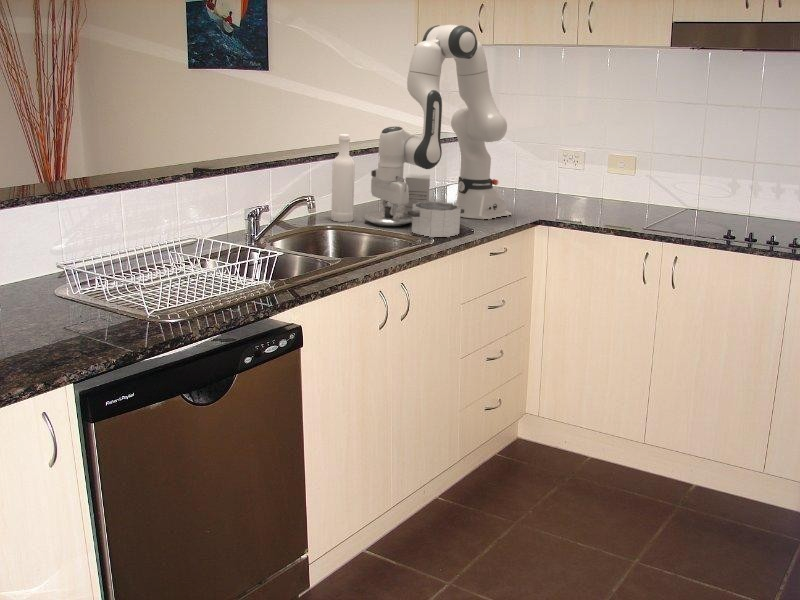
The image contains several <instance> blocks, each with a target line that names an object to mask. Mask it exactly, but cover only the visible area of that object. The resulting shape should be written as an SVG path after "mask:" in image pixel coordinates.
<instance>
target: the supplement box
mask: <svg viewBox="0 0 800 600" xmlns="http://www.w3.org/2000/svg"><path fill="white" fill-rule="evenodd" d="M430 178H431V176H430V175H429V174H418V173H417V174H414V173H406V174H405V178H404V179H405V181H406V183H407V185H408V191H409V203H408V204H407V205H404V206H403V214H407V215H408V211H412V209H413V204H415V203H418V202H430V186H431V185H430V183H431V182H430V181H431V180H430Z"/></svg>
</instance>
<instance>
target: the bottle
mask: <svg viewBox="0 0 800 600" xmlns="http://www.w3.org/2000/svg"><path fill="white" fill-rule="evenodd" d="M350 140H351V136H350V134H349V133H348V134H347V133H340V134H339V137H338V155H337V156H336V157H335V158H334V160H333V163H332V178H331V179H332V180H331V211H330V216H331V217H330V219H331V221H332V220H333V222H335V221H338V222H337V223H350V222H353V220H354V202H355V201H354V200H355V199H354V198H355V197H354V196H355V194H354V193H355V173H356V171H355V169H356V167H355V165H356V164H355V161H354V159H353V157H352V156H351V155H350Z"/></svg>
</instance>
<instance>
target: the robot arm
mask: <svg viewBox="0 0 800 600" xmlns="http://www.w3.org/2000/svg"><path fill="white" fill-rule="evenodd" d="M445 59H454V62H455V68H456V77H457V86H458V94H459V96H460V98H461V99H462V101H463V102H464V103H465V105H466V106H467V108H460V109H458V110H456V111H455V112H454V113H453V114H452V115H451V121H450V126H451V129H452V131H453V132H454V133H455V135H456V138H457V141H458V145H459V151H460V169H459V176H458V183H457V191H458V192H457V199H456V203H455V205H458V206H460V208H461V209H464V213H460V218H465V219H477V220H478V219H479V220H484V219H488V220H493V219H492V218H495V219H497V218H496V217H501V216H506V215H511V216H512V212H511V211H508V210H506V209H507V205H506V204H507V203H506V200H505V198H504V197H503V196H502V195H501V194H500V193H498V191H497V190H496V189H494V188H493V187H494V186H498V184H499V180H498V179H495V178H493V179H492V178H491V165H492V164H491V163H492V157H491V155H490V153H489V152H488V150H487V147H486V144H485V143H493V142H499V141H500V140H503V138H504V137H505V135H506V133H507V132H508V123H507V120H506V118H505V117H504V116H503V115H502V113H500V111H499V109H498V107H497V104H496V102H495V100H494V98H493V95H492V90H491V87H490V86H491V85H490V77H489V71H488V64H487V63H488V62H487V58H486V54H485V50H484V48H483V44H482V43H481V42H480V41H478V39H477V36H476V34H475V32H474V30H473V29H471V28H470V27H468V26H466V25H459V24H444V25H439V24H437V25H434V26H431V27H429V28H428V29H427V30H426V31H425V33H424V34H423V38H422V40H421V41H420V42H418V43H417V44H416V46H415V47H414V49H413V53H412V55H411V59H410V61H409V62H410V63H409V68H408V72H407V73H408V74H407V81H406V86H407V87H406V88H407V91H408V93H409V95H410V96H411V98H413V99H414V100H415V101H416V102H417V103H419V105H420V106H421V109H422V111H423V128H422V135H421V136H422V137H419V136H415V135H413V134H410V133H408V132H407V131H406V130H404V128H403V127H401V126H388V127H385V128H383V129H382V130H381V132H380V135H379V142H378V156H379V160H378V164H377V168H375V169H372V170H371V171H370V176H371V180H370V181H371V183H370V193H371V195H372V197H374V198H377V199H380V204H381V206H382V212H385V207H386V206H389V204H388V203H390V206H392V207H391V210H389V214H390V215H396V213H397V209H398V206H401V207H402V206H403V207H404V205H407V204H408V203H409V191H408V185H407V183H406V181H405V179H406V178H404V166H405V163H407V164H410V165H413V166H417V167H419V168H421V169H425V170H431V169H434V168H435V167H436V166H437V165H438V164H439V162H440V161H441V158H442V155H443V154H442V153H443V152H442V149H443V148H442V142H441V132H442V116H443V115H442V114H443V100H442V99H443V98H442V95H441V93H440V92H441V91H440V81H441V74H442V65H443V63H444V61H445ZM493 185H494V186H493ZM501 218H502V217H501Z"/></svg>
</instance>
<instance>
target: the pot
mask: <svg viewBox="0 0 800 600" xmlns="http://www.w3.org/2000/svg"><path fill="white" fill-rule="evenodd" d="M460 213H464V209H461V208H460V206H458V205H456V203H455V204H454V203H449V202H443V201H429V202H418V203H415V204H413V209H412V211H408V215H410V216H412V222H411V230H412V231H411V233H412V232H413V233H412V234H414V233H416V234H420V235H424V236H423V237H425V236H429V237H428V238H434V237H447V238H451V237H450V236H455V235H457V236H459V235H460V224H461V217H460ZM416 234H415V235H416ZM458 234H459V235H458ZM455 237H456V236H455Z"/></svg>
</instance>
